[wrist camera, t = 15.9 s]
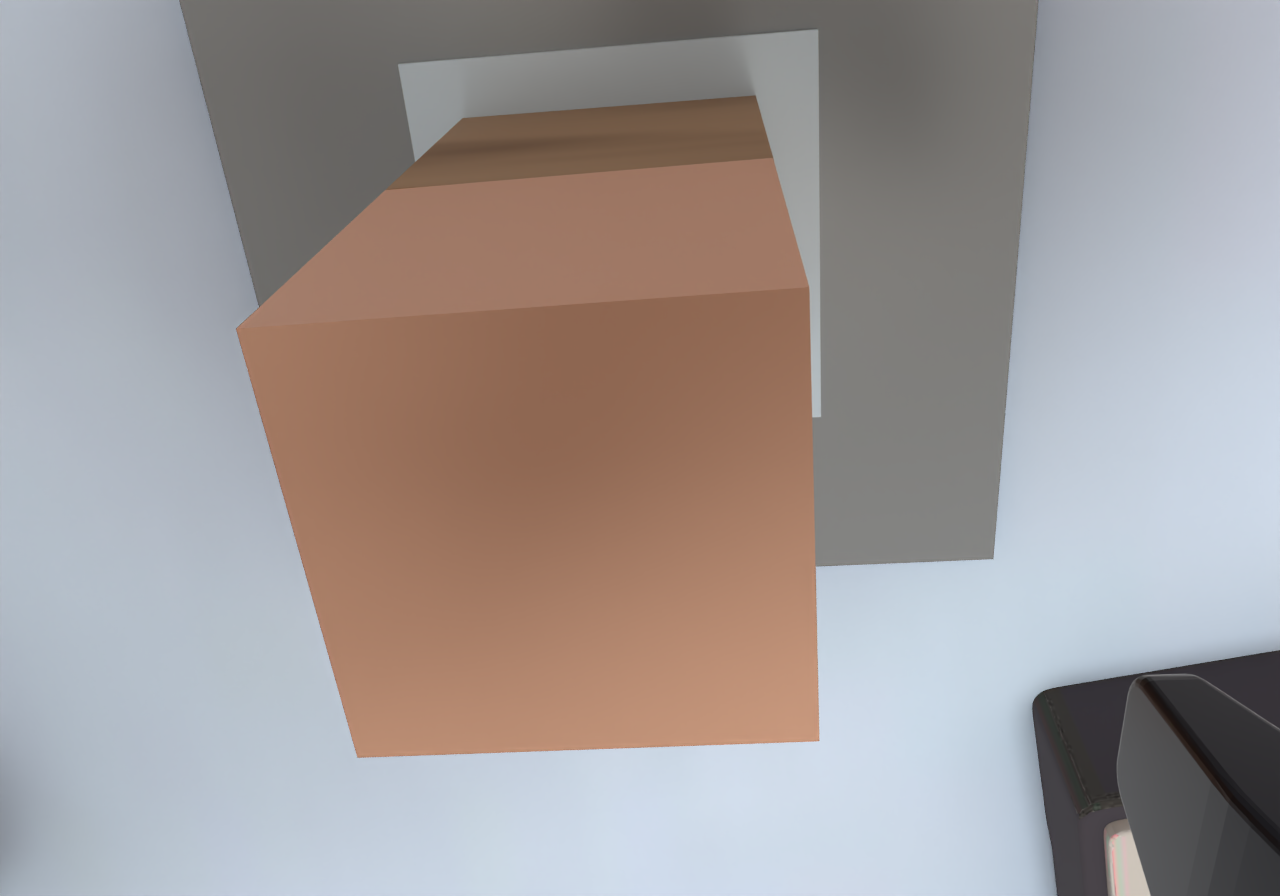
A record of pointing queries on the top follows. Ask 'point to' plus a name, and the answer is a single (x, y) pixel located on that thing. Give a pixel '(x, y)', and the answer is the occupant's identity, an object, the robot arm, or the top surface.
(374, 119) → the build plate
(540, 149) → the base block
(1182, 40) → the top surface
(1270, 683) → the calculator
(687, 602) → the top block
